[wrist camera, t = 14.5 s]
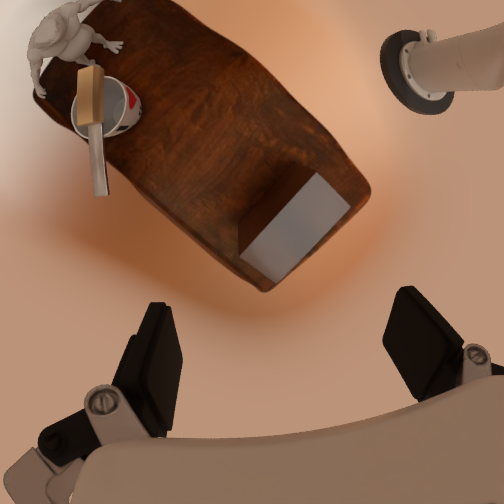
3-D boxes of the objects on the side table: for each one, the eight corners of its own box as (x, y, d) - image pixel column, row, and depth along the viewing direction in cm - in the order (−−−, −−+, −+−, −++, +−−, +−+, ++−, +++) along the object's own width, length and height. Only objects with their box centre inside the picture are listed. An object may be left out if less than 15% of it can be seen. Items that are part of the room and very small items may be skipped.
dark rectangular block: (293, 161, 39) (316, 171, 28) (321, 187, 41) (351, 206, 30) (237, 224, 42) (238, 256, 31) (266, 246, 44) (276, 284, 33)
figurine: (82, 110, 32) (8, 107, 16) (61, 91, 30) (-11, 85, 14) (155, 25, 28) (112, -28, 11) (130, 9, 26) (82, -38, 9)
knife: (89, 74, 22) (77, 70, 20) (104, 69, 23) (93, 64, 20) (95, 196, 29) (84, 202, 26) (110, 194, 29) (99, 200, 26)
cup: (142, 142, 36) (115, 144, 27) (98, 132, 34) (64, 134, 25) (158, 92, 33) (135, 79, 24) (113, 84, 31) (82, 73, 22)
